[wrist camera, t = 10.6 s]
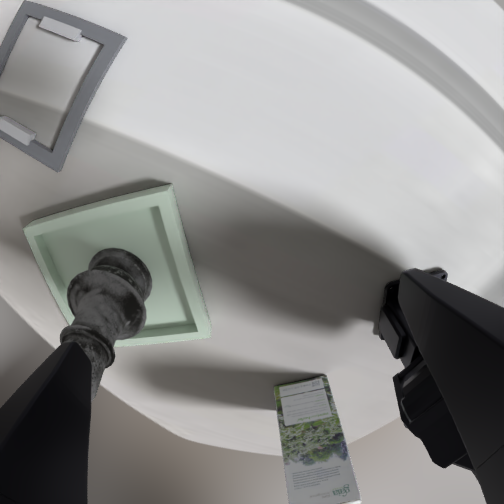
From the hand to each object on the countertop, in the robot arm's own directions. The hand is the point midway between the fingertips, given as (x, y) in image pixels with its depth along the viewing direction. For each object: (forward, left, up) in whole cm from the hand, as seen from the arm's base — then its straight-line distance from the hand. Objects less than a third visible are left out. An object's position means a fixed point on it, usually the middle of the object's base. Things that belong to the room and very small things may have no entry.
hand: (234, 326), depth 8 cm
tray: (+10, +6, -14) cm, 18 cm away
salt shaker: (+10, +6, -13) cm, 17 cm away
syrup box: (-3, +24, -14) cm, 27 cm away
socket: (+12, -10, -14) cm, 21 cm away
